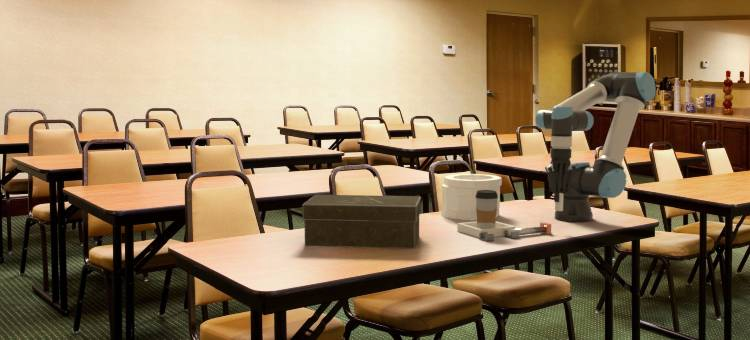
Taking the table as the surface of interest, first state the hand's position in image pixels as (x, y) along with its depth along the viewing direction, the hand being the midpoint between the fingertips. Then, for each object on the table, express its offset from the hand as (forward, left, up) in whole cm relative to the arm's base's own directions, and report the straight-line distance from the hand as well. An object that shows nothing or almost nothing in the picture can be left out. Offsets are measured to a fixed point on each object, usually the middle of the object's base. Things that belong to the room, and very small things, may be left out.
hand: (558, 210), depth 296 cm
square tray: (+25, -11, -8) cm, 29 cm away
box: (+72, -19, -9) cm, 75 cm away
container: (+8, -46, -8) cm, 48 cm away
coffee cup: (+25, -11, -8) cm, 28 cm away
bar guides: (+27, 0, -8) cm, 28 cm away
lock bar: (+15, 0, -8) cm, 17 cm away
